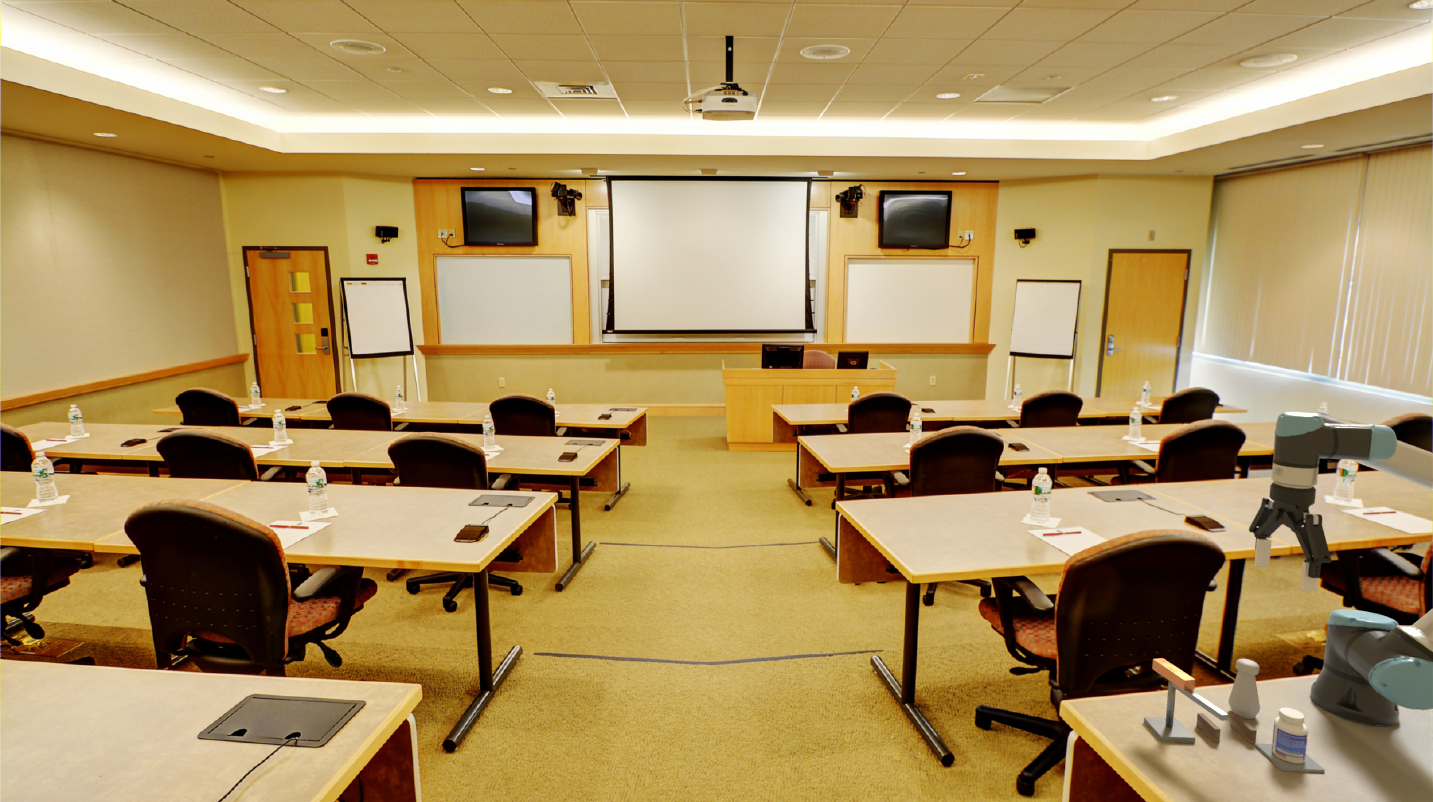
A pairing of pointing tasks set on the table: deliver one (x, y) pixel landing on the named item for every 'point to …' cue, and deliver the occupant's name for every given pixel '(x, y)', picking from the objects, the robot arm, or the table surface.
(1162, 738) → the grey stand base plate
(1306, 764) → the pad
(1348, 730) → the table surface
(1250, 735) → the cradle
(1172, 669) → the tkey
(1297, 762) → the pill bottle
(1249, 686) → the salt shaker
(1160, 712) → the table surface
